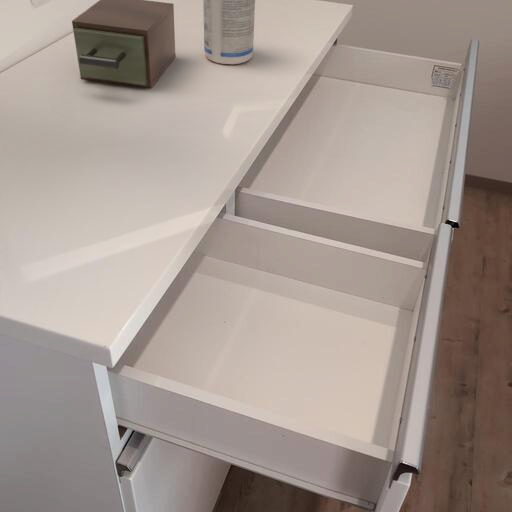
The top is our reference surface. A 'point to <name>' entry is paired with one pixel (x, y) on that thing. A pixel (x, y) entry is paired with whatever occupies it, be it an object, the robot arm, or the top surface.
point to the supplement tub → (228, 30)
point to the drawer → (111, 55)
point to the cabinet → (136, 30)
